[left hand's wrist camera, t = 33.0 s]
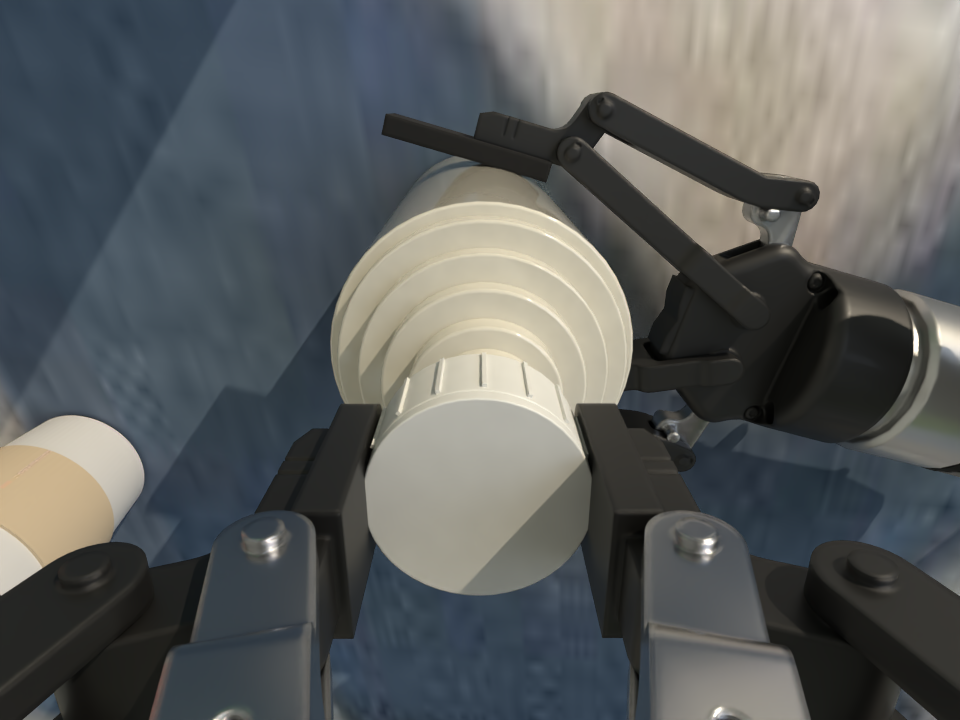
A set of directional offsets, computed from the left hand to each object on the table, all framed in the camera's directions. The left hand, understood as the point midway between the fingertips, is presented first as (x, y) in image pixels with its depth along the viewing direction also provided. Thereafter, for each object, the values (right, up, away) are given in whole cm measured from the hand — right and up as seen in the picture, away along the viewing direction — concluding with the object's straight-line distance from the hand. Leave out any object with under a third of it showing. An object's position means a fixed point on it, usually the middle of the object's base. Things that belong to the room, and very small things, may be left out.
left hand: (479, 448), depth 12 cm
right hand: (-5, +7, +14) cm, 17 cm away
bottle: (0, +8, +20) cm, 22 cm away
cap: (0, -1, -2) cm, 2 cm away
